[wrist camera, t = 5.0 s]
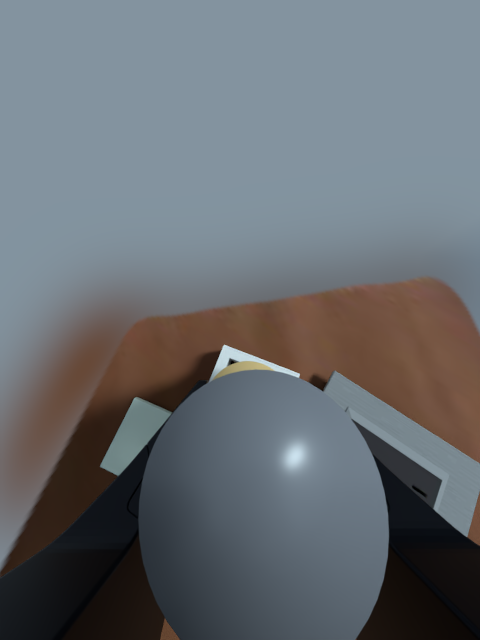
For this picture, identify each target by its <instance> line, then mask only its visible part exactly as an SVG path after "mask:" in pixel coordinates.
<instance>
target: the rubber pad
mask: <svg viewBox="0 0 480 640" xmlns="http://www.w3.org/2000/svg"><path fill="white" fill-rule="evenodd" d="M171 414H172V412H170V411H168V410H166V409H163V408H161V407H159V406H157V405H154V404H152V403H150V402H148V401H145V400H143V399H141V398H139V397H135V398H134V400H133V402H132V404H131V406H130V408H129V410H128V412H127V414H126V416H125V418H124V420H123V422H122V424H121V426H120V428H119V430H118V431H117V433H116V435H115V437H114V439H113V441H112V443H111V445H110V447H109V449H108V451H107V453H106V455H105V457H104V459H103V461H102V463H101V465H100V467H102V468H104V469H106V470H108V471H110V472H112V473H114V474H115V475H117V476H119V475H120V474H121V473H122V472H123V470H124V469H125V468H126V467H127V466H128V465H129V464H130V463H131V461H132V460H133V459H134V458H135V457H136V456H137V455H138V453H139V452H140V451H141V450H142V449H143V447H144V446H145V445H146V444H147V443H148V441H149V440H150V439H151V438H152V437H153V435H154V434H155V433H156V432H157V431H158V429H159V428H160V427H161V426H162V425H163V423H164V422H165V421H166V420H167V418H168V417H169V416H170V415H171Z"/></svg>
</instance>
